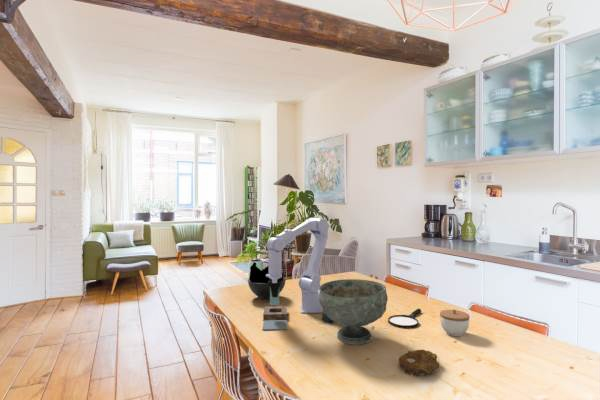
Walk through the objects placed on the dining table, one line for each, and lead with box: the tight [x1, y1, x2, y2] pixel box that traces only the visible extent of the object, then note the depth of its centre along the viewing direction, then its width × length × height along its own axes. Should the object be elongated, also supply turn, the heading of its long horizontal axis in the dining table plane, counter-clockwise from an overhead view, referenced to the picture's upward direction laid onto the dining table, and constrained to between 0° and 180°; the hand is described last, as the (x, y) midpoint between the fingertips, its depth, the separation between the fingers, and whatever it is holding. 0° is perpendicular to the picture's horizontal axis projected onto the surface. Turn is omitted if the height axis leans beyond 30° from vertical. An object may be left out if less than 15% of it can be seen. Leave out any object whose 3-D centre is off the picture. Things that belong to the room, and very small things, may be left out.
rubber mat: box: [262, 319, 288, 331], centre depth 149 cm, size 10×10×1 cm
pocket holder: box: [262, 306, 288, 321], centre depth 161 cm, size 10×10×2 cm
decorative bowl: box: [319, 278, 389, 345], centre depth 136 cm, size 26×26×20 cm
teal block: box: [269, 288, 280, 306], centre depth 156 cm, size 4×4×9 cm
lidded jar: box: [439, 309, 470, 337], centre depth 140 cm, size 11×11×9 cm
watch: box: [321, 312, 335, 324], centre depth 154 cm, size 6×8×11 cm
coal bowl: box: [247, 261, 287, 299], centre depth 189 cm, size 20×20×19 cm
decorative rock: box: [398, 349, 440, 376], centre depth 113 cm, size 11×4×15 cm
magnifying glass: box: [387, 308, 422, 329], centre depth 156 cm, size 12×24×2 cm, turn 140°
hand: (275, 295), depth 156 cm, fingers closed on teal block, 4 cm apart
